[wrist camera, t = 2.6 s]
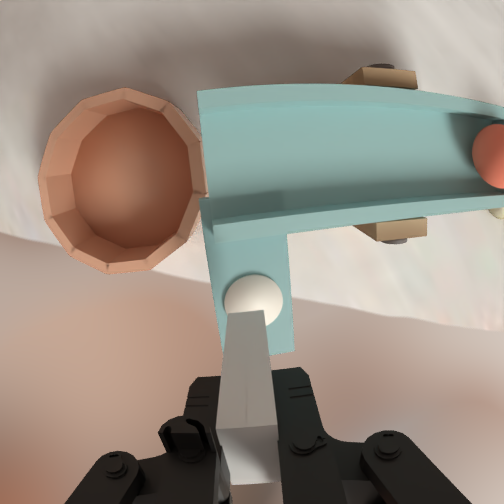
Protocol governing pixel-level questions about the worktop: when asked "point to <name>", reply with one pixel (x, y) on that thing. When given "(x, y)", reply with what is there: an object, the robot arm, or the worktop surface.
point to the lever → (324, 177)
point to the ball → (490, 154)
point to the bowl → (123, 181)
